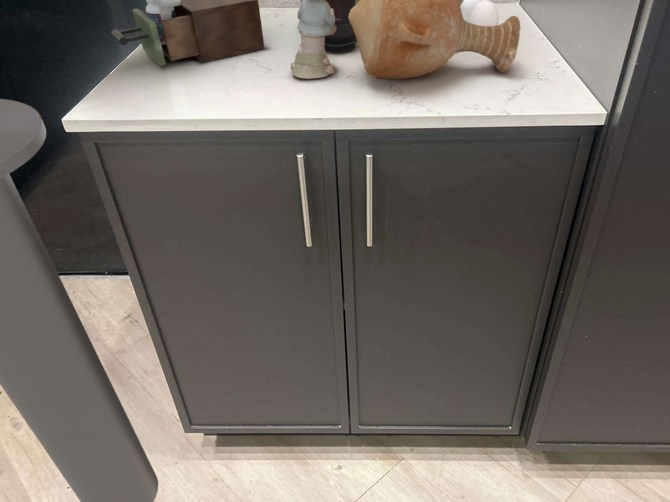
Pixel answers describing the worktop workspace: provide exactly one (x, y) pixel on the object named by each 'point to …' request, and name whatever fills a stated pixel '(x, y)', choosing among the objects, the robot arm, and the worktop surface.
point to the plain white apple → (468, 8)
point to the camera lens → (341, 28)
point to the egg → (484, 14)
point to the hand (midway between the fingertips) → (162, 21)
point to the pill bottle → (157, 18)
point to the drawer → (175, 33)
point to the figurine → (313, 39)
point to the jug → (425, 36)
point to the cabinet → (225, 27)
